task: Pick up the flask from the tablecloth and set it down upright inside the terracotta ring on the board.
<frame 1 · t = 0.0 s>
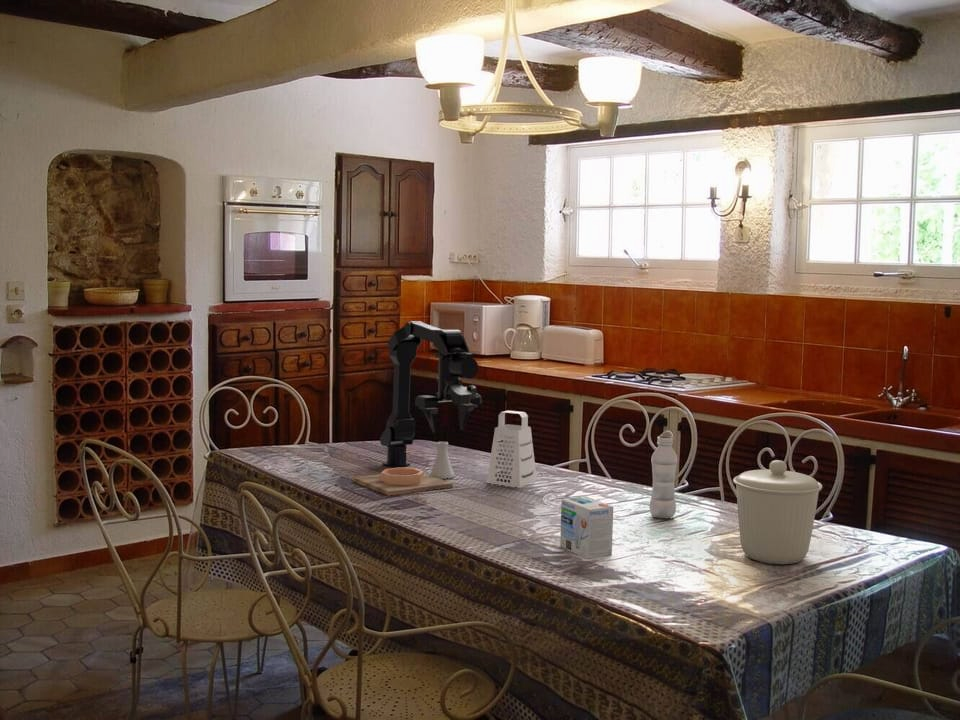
hand: (448, 430, 281), 15 cm above the table, tool pointing down, fingers open, 9 cm apart
flask: (442, 477, 290), on the table
plastic bottle: (662, 518, 247), on the table
light bulb box: (585, 552, 218), on the table
board: (402, 484, 279), on the table
ring: (402, 476, 279), on the board, point 2 cm above the table
grater: (511, 483, 284), on the table
canister: (773, 558, 215), on the table
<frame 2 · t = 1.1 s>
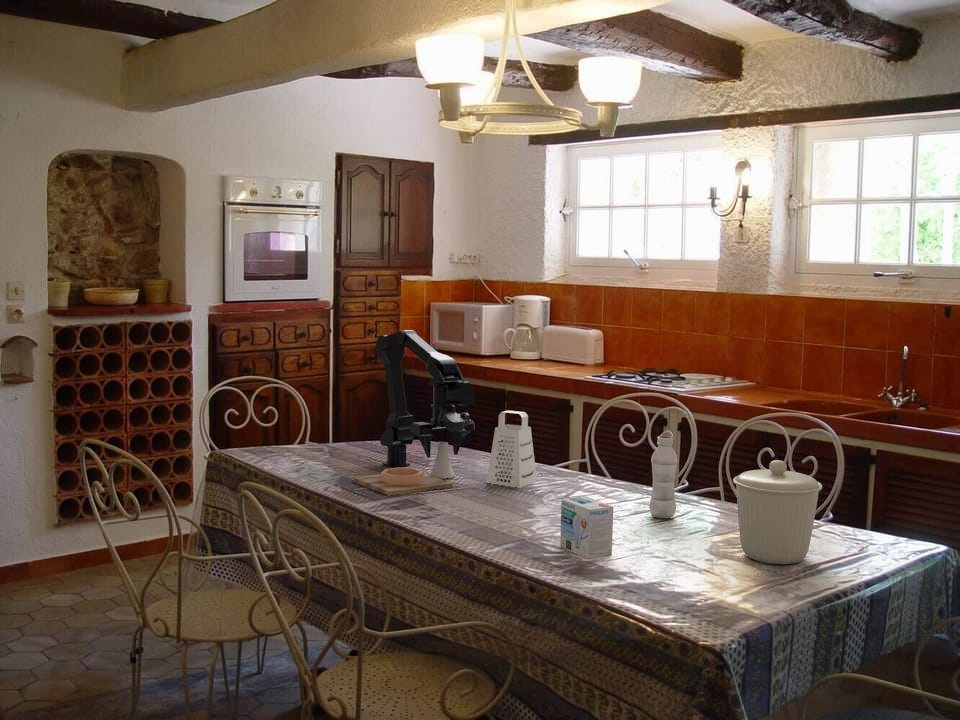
hand: (442, 456, 290), 6 cm above the table, tool pointing down, fingers open, 9 cm apart
nothing on the table moved.
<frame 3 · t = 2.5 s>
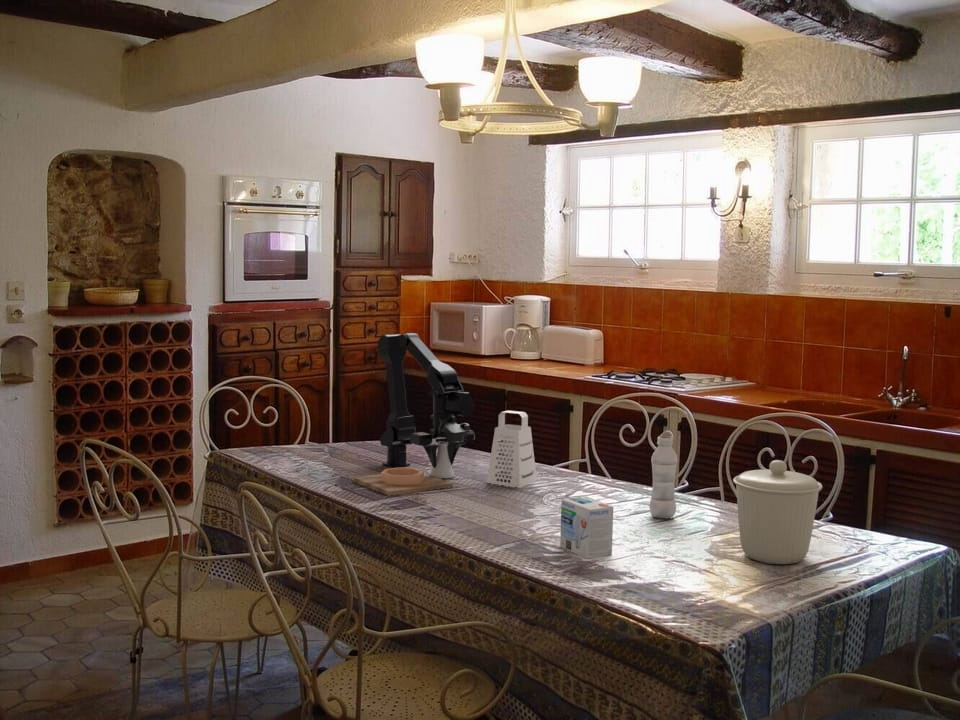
hand: (442, 466, 290), 3 cm above the table, tool pointing down, fingers closed on flask, 5 cm apart
flask: (442, 477, 290), on the table, touching gripper
everything else where it was.
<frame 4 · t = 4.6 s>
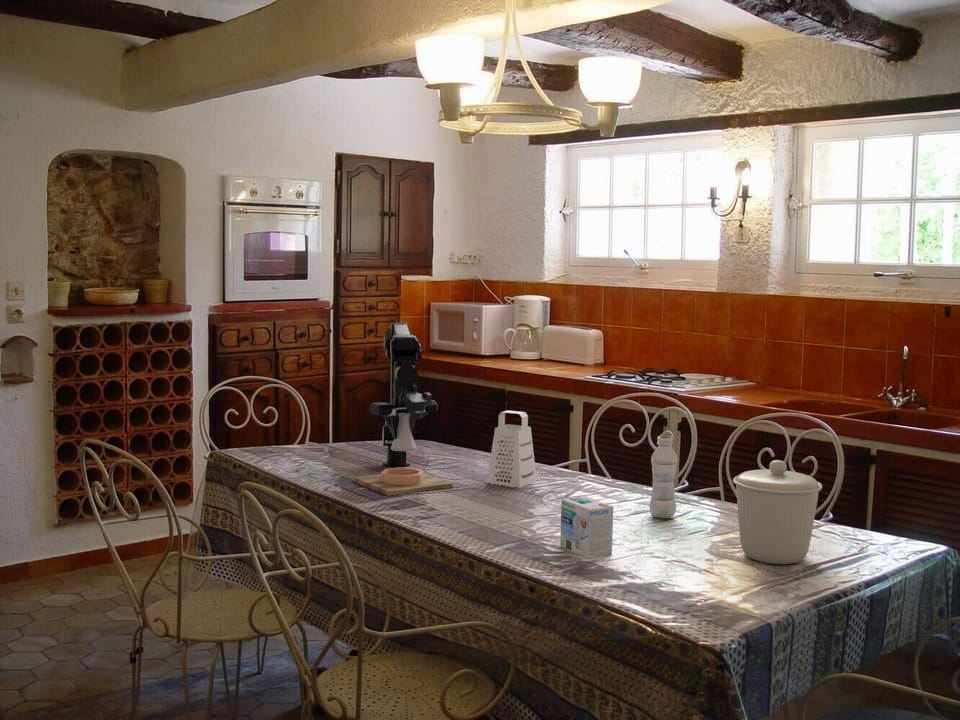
hand: (403, 438, 278), 13 cm above the table, tool pointing down, fingers closed on flask, 5 cm apart
flask: (403, 450, 278), point 10 cm above the table, touching gripper
everything else where it was.
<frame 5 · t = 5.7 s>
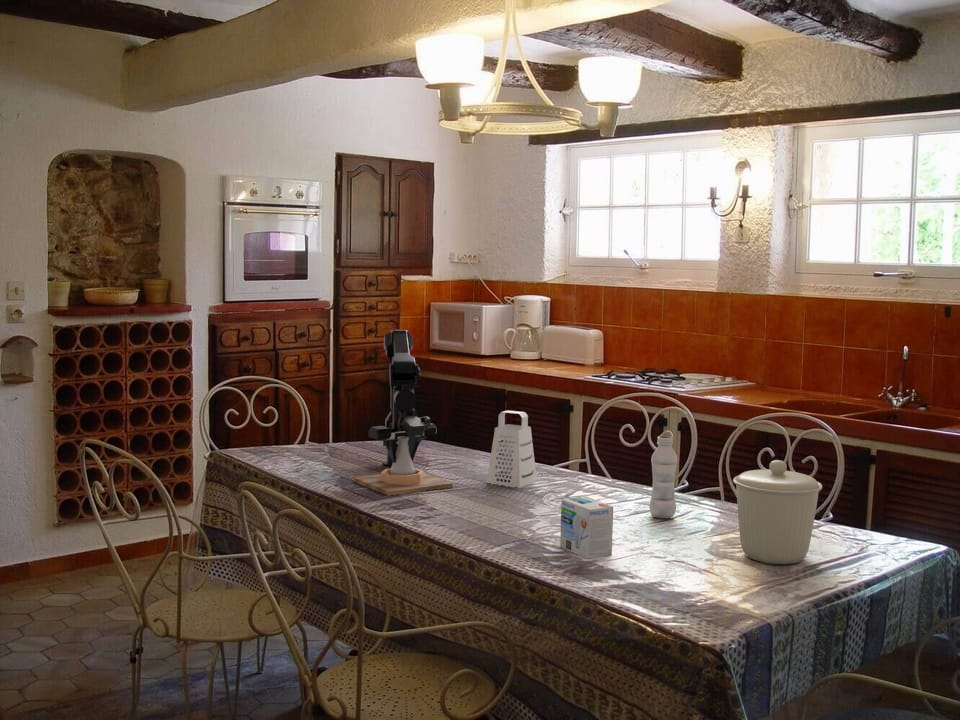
hand: (402, 461, 279), 6 cm above the table, tool pointing down, fingers closed on flask, 5 cm apart
flask: (402, 473, 279), point 3 cm above the table, touching gripper
everything else where it was.
when the fingers open (5 cm above the table, at t = 6.7 s): flask stays where it is, resting on board.
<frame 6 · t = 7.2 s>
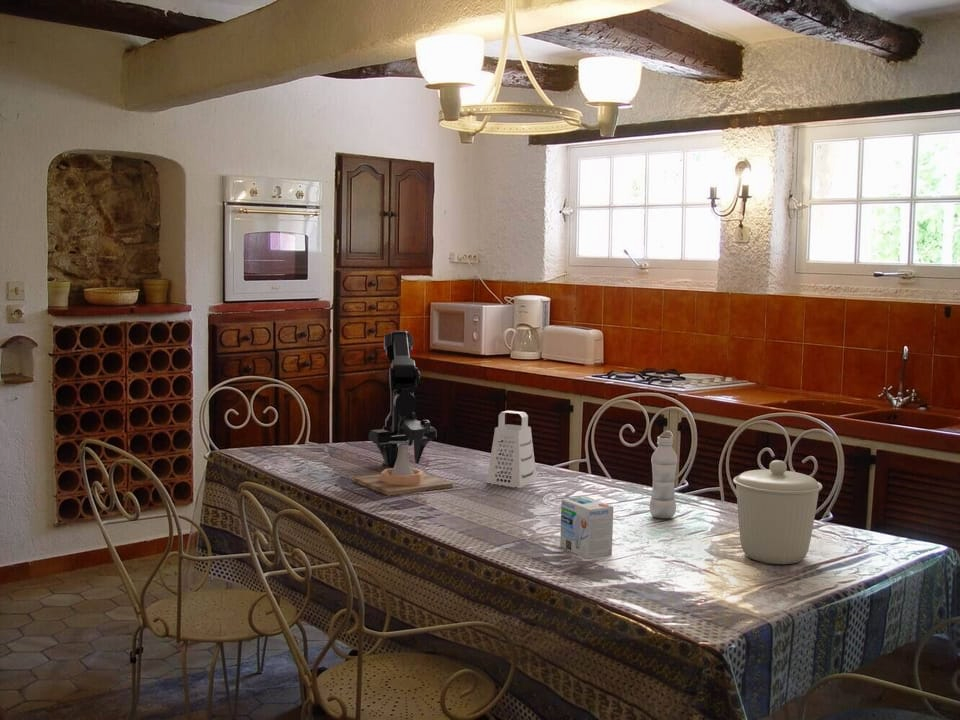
hand: (402, 464, 279), 5 cm above the table, tool pointing down, fingers open, 9 cm apart
flask: (402, 481, 279), point 1 cm above the table, touching board
everything else where it was.
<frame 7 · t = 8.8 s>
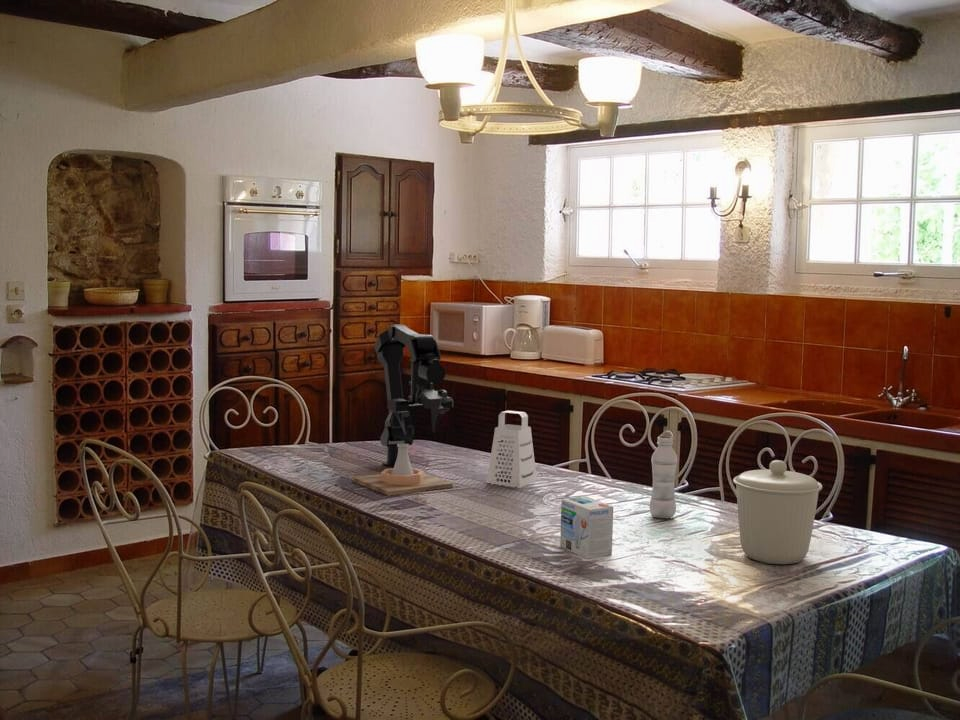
hand: (420, 433, 288), 13 cm above the table, tool pointing down, fingers open, 9 cm apart
nothing on the table moved.
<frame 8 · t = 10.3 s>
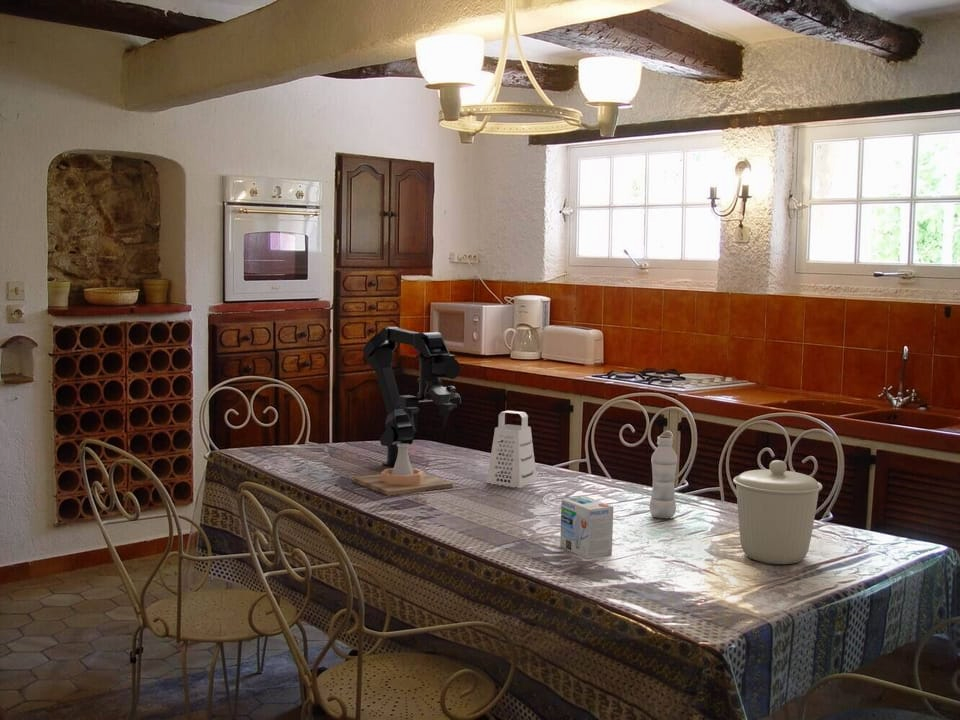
hand: (428, 429, 293), 13 cm above the table, tool pointing down, fingers open, 9 cm apart
nothing on the table moved.
at the end: flask 0.1 cm off-centre on the ring, point 1.0 cm above the ring's base; flask tilted 0°; the gripper is holding nothing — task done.
